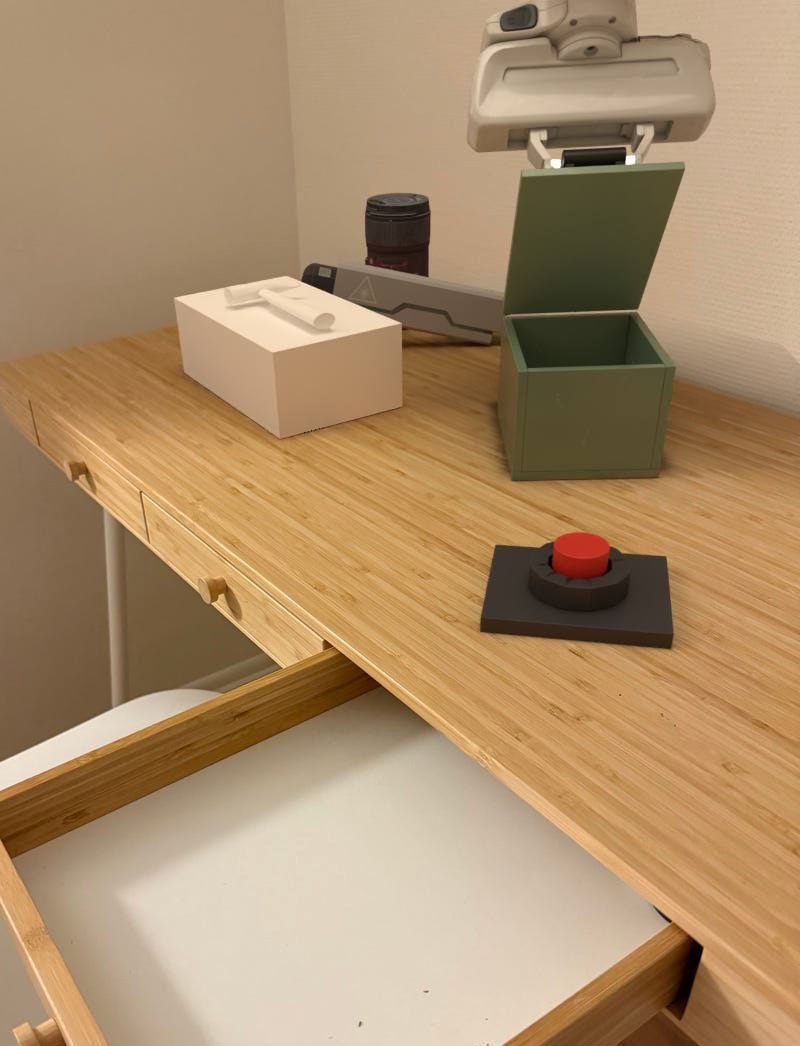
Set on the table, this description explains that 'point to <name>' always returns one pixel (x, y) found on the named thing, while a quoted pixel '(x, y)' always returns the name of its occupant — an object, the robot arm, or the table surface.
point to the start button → (580, 555)
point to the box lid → (588, 232)
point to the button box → (579, 599)
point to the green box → (583, 396)
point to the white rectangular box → (291, 354)
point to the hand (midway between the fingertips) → (591, 183)
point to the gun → (414, 299)
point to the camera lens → (398, 232)
